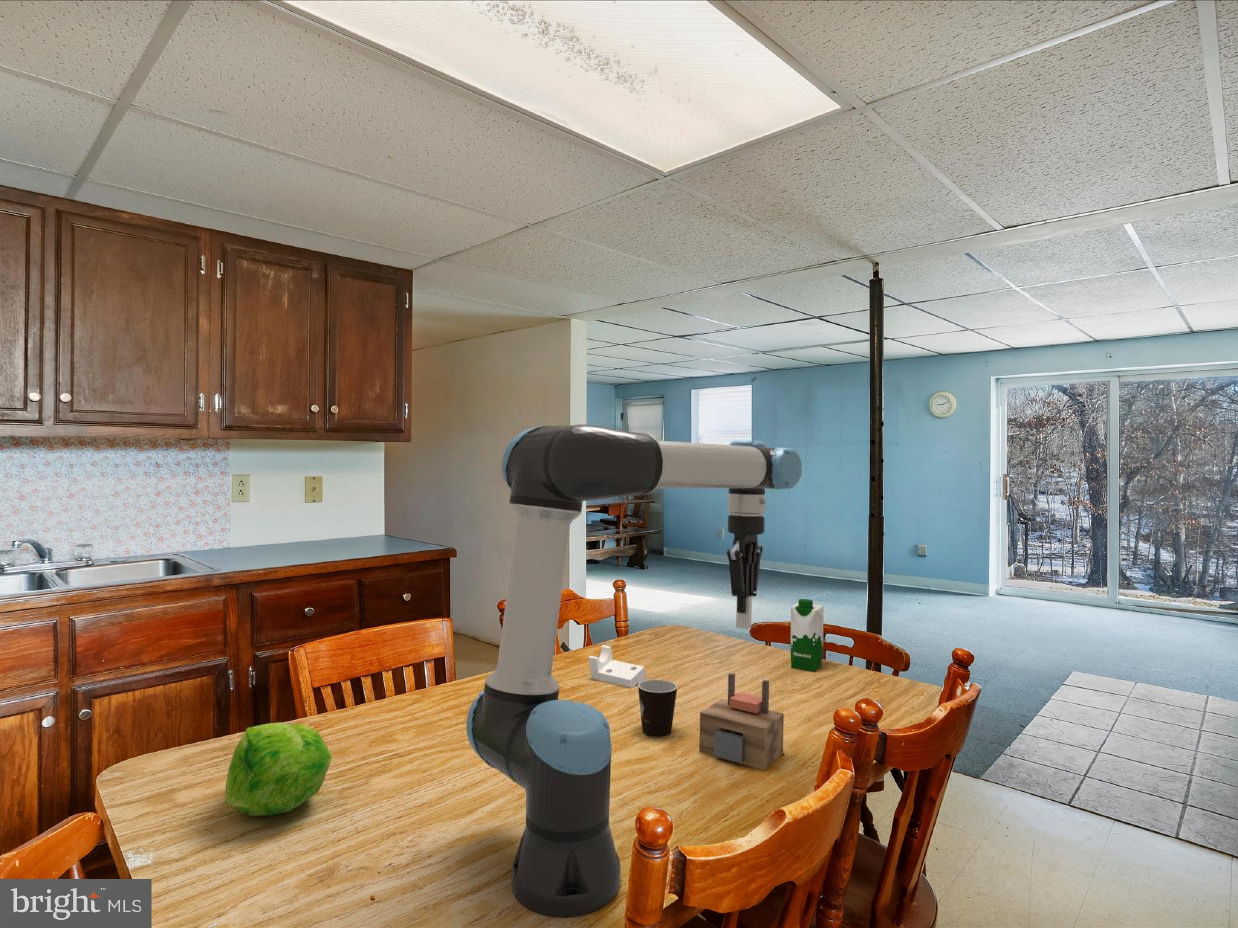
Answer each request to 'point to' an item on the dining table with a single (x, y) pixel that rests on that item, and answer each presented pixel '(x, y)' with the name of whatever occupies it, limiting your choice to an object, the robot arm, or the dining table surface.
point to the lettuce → (276, 768)
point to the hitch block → (745, 728)
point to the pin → (729, 745)
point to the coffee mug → (657, 706)
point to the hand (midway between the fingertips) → (743, 627)
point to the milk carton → (806, 635)
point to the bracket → (615, 670)
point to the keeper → (746, 702)
